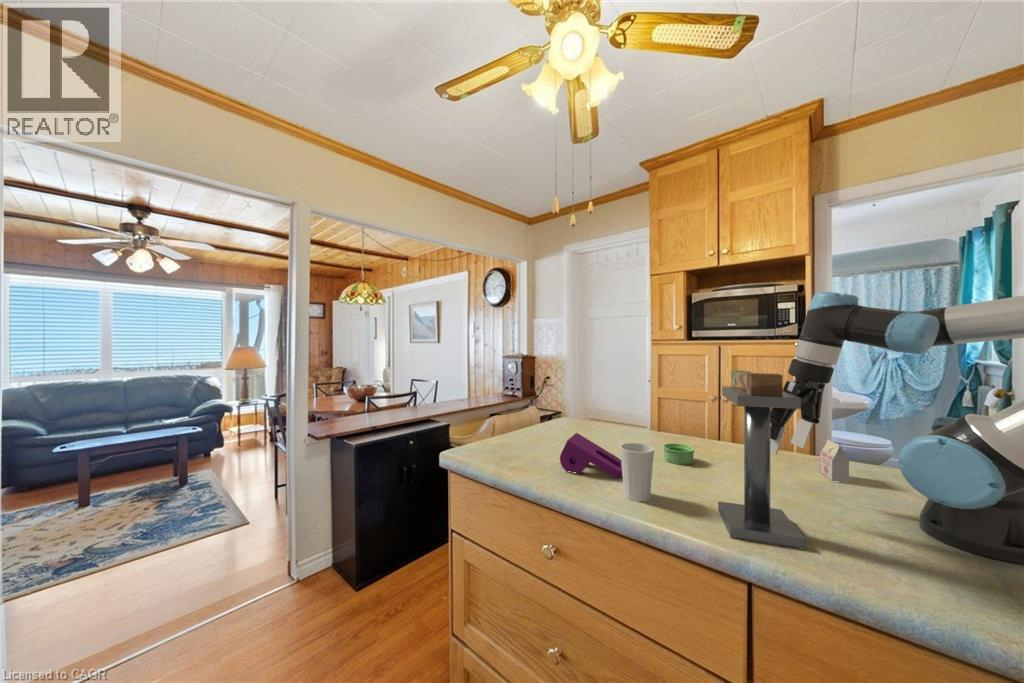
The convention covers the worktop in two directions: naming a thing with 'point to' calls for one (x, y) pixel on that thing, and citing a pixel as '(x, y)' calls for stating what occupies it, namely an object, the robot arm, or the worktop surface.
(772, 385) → the walnut bar
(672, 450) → the ramekin
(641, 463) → the cup
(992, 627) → the worktop surface
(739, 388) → the charcoal stand
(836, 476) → the milk carton
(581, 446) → the mounting bracket
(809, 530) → the worktop surface
